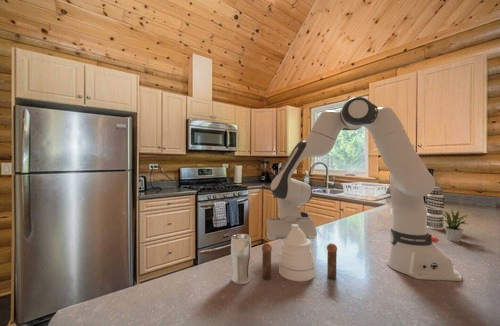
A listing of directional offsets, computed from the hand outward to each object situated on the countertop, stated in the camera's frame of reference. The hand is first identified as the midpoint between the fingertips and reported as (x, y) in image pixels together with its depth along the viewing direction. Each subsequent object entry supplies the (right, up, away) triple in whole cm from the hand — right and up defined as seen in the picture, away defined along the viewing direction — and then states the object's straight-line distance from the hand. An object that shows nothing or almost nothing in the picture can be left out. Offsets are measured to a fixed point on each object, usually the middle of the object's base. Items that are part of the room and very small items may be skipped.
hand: (293, 248), depth 93 cm
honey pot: (0, -7, -6) cm, 9 cm away
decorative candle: (+96, -6, +52) cm, 109 cm away
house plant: (+88, -6, +28) cm, 92 cm away
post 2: (+12, -6, -10) cm, 17 cm away
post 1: (-11, -6, -10) cm, 17 cm away
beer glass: (-20, -7, -12) cm, 24 cm away
